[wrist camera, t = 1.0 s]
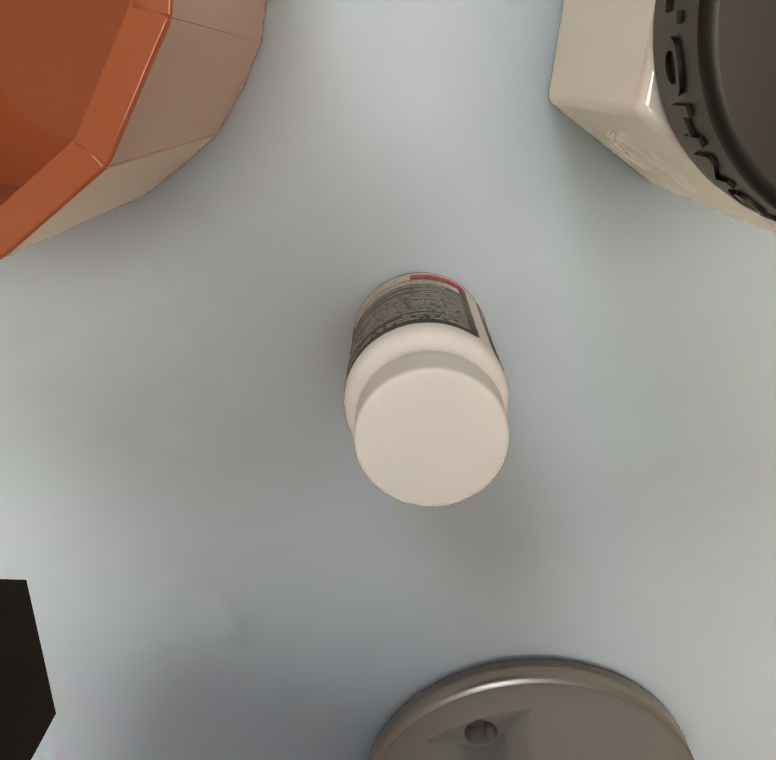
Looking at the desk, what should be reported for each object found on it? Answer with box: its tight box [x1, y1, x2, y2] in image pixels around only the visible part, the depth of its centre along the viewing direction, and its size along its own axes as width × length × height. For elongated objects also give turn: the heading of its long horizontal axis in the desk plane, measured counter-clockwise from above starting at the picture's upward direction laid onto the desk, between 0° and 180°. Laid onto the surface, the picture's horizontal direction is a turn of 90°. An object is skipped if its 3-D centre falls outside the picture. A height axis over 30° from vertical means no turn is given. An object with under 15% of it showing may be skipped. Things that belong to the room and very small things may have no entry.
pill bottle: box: [344, 273, 509, 507], centre depth 22 cm, size 5×5×8 cm
